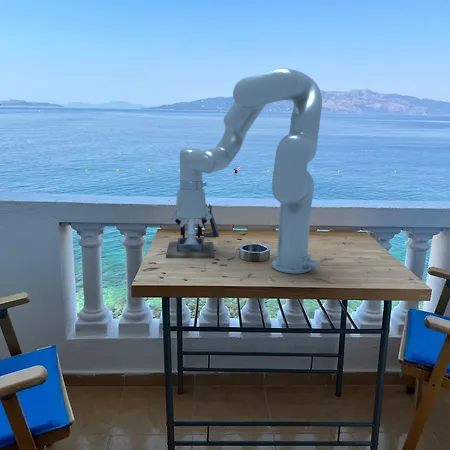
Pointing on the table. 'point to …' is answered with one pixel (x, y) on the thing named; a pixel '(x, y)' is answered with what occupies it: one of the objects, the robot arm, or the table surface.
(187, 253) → the keeper board
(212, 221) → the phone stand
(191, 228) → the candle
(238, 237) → the table surface
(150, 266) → the table surface
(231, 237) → the table surface
